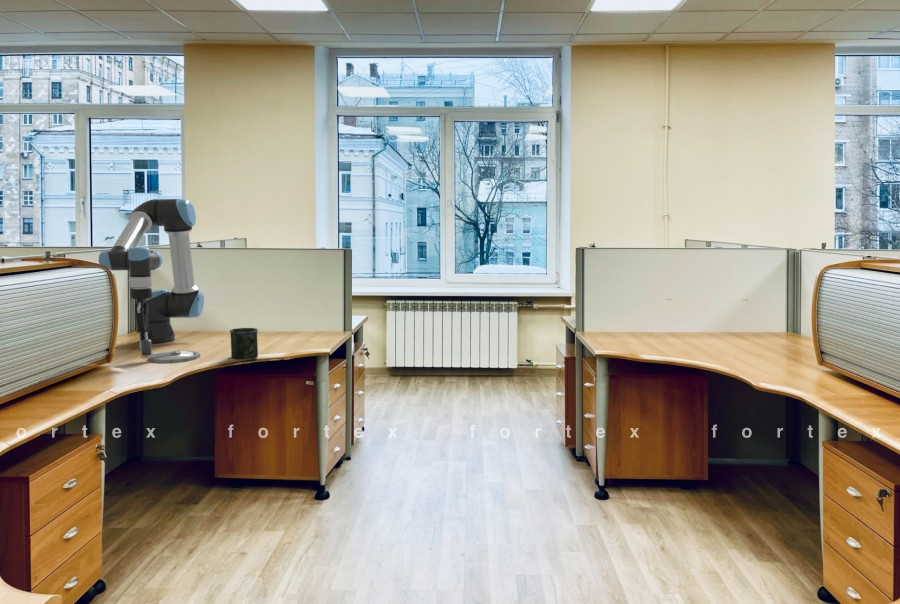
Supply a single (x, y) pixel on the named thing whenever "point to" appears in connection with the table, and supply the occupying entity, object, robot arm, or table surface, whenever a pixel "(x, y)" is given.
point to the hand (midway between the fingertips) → (143, 348)
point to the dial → (147, 352)
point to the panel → (196, 356)
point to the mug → (244, 344)
